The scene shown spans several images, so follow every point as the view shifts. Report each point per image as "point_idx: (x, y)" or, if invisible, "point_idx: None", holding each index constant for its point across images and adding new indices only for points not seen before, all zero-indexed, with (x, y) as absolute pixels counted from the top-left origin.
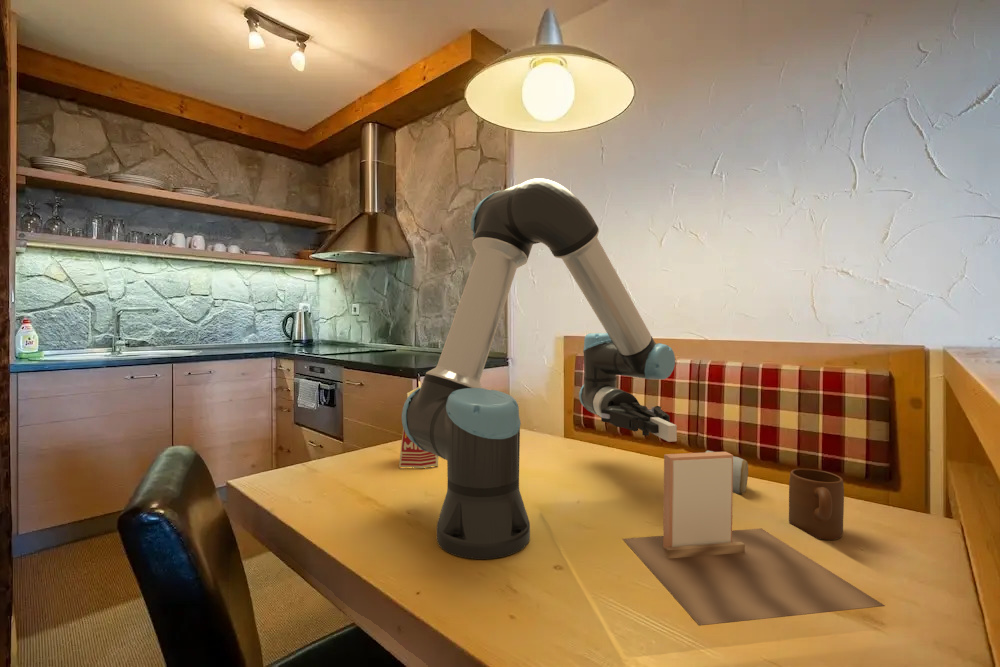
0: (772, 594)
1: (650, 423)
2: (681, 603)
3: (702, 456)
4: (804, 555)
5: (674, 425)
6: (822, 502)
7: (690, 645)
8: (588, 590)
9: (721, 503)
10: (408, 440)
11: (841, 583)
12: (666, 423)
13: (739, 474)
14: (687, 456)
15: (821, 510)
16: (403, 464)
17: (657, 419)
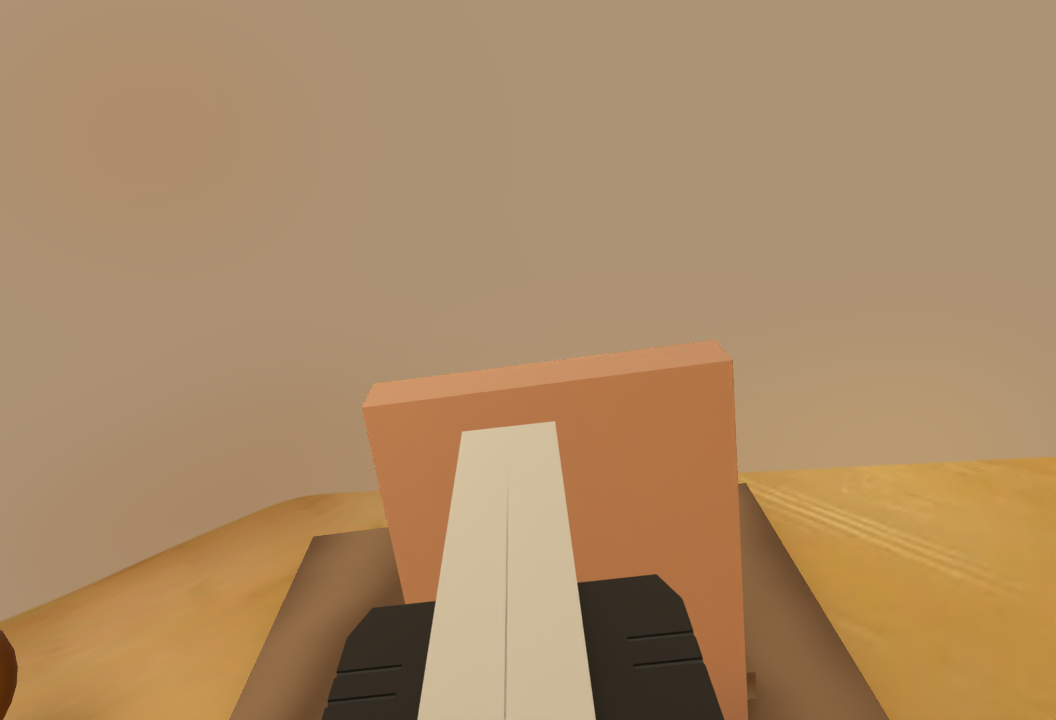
0: None
1: (669, 650)
2: (765, 523)
3: (540, 363)
4: (239, 701)
5: (485, 430)
6: (4, 638)
7: (771, 487)
8: (1039, 601)
9: None
10: None
11: (308, 589)
12: (525, 468)
13: None
14: (618, 355)
15: (14, 672)
16: None
17: (532, 613)
